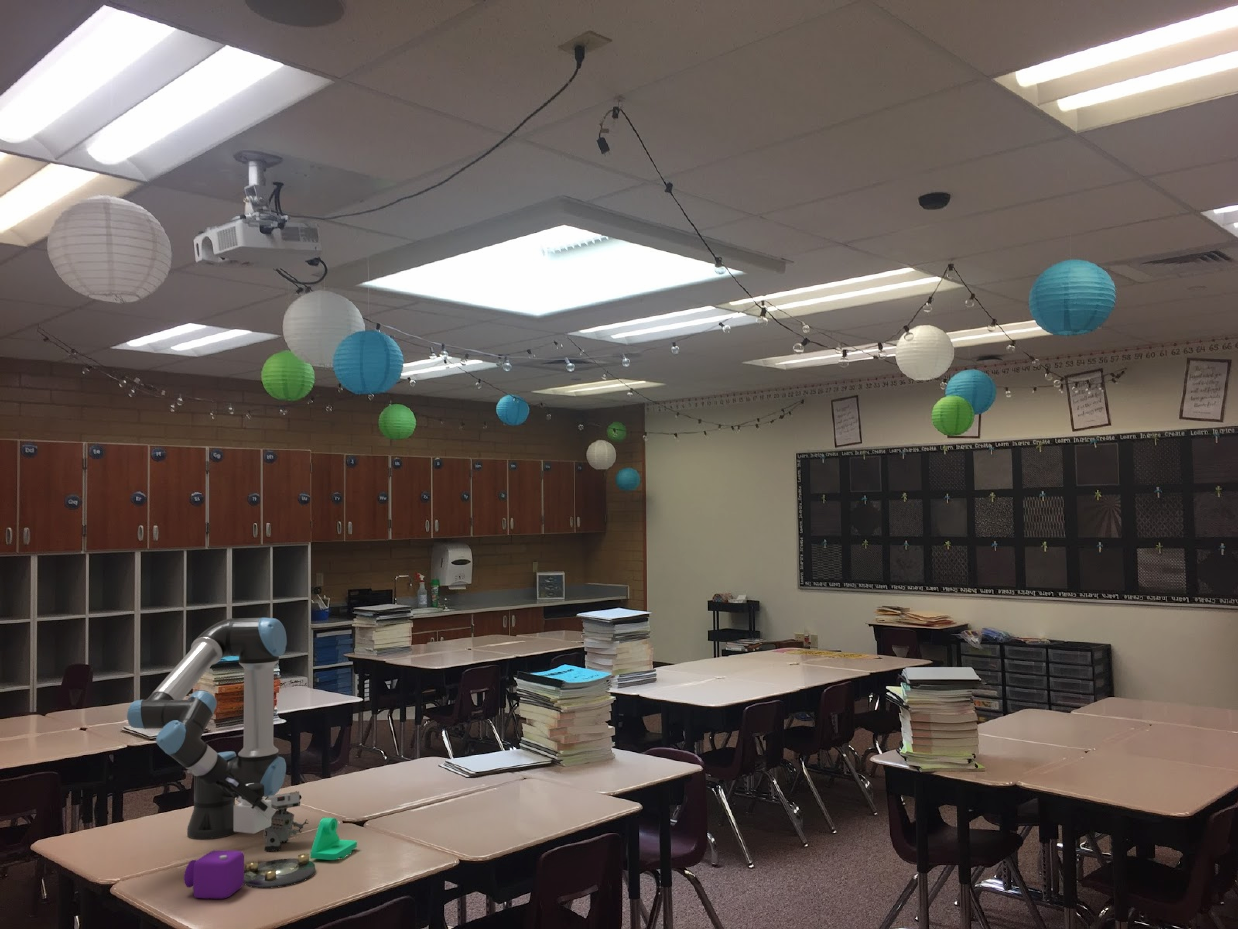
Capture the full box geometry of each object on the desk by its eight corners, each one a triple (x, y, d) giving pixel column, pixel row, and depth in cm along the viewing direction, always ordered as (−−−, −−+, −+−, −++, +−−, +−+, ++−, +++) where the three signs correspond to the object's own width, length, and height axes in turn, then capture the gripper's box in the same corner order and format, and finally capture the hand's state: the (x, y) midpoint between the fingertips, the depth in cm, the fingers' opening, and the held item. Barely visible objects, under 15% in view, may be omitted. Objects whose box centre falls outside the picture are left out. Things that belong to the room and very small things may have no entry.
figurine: (300, 850, 271) (300, 797, 273) (258, 852, 271) (259, 798, 272) (308, 840, 281) (308, 788, 282) (268, 842, 280) (269, 790, 281)
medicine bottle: (271, 826, 264) (272, 782, 265) (254, 834, 258) (254, 789, 258) (250, 824, 267) (251, 780, 267) (232, 832, 260) (233, 787, 261)
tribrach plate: (230, 877, 251) (230, 863, 251) (293, 859, 264) (293, 846, 264) (262, 893, 239) (263, 879, 239) (327, 874, 252) (327, 860, 252)
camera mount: (335, 864, 260) (335, 825, 261) (310, 862, 262) (310, 824, 263) (358, 850, 272) (358, 813, 272) (334, 848, 274) (334, 812, 274)
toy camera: (192, 887, 244) (192, 847, 245) (246, 884, 245) (247, 845, 246) (176, 903, 233) (176, 861, 234) (233, 900, 235) (234, 858, 235)
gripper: (179, 770, 259) (236, 816, 270) (215, 784, 245) (273, 832, 255) (199, 747, 264) (254, 793, 274) (235, 759, 249) (292, 807, 259)
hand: (263, 811), depth 265 cm, fingers closed on medicine bottle, 9 cm apart
